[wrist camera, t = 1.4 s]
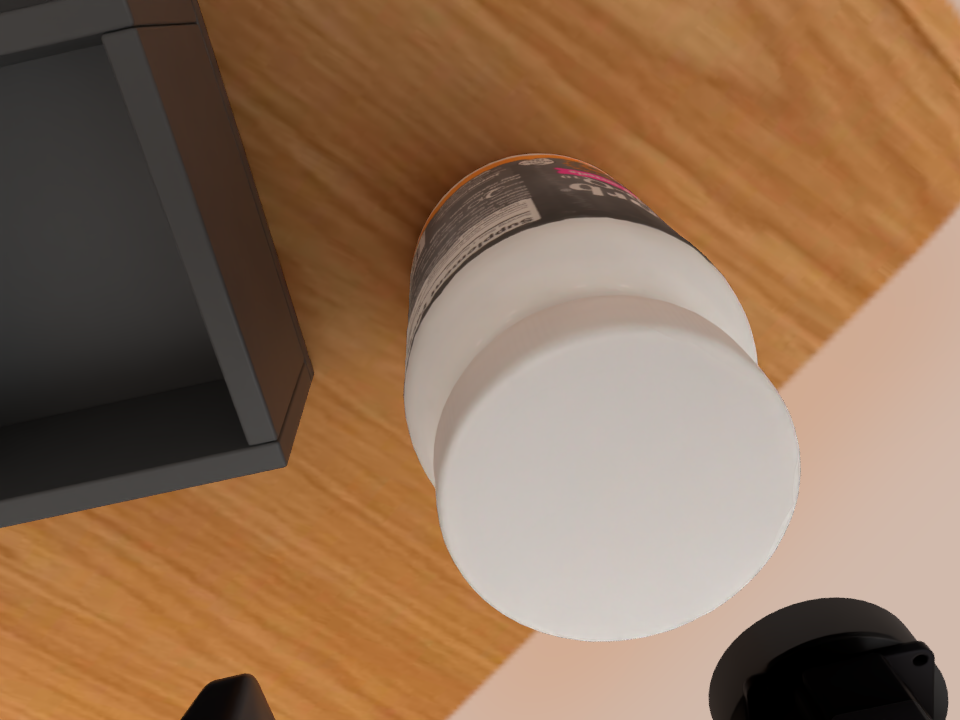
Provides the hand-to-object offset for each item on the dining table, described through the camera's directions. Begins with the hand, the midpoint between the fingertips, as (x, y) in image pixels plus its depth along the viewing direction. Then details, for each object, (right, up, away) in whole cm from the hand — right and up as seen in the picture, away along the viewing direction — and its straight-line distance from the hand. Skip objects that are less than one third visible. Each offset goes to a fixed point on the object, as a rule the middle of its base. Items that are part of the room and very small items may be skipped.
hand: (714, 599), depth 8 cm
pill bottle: (-1, +4, +12) cm, 13 cm away
